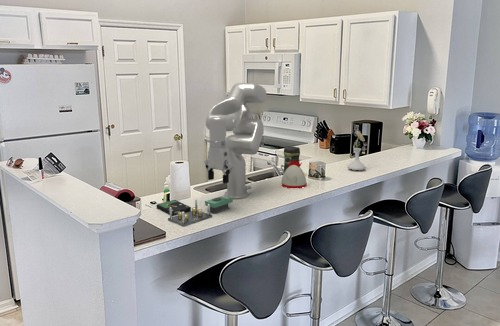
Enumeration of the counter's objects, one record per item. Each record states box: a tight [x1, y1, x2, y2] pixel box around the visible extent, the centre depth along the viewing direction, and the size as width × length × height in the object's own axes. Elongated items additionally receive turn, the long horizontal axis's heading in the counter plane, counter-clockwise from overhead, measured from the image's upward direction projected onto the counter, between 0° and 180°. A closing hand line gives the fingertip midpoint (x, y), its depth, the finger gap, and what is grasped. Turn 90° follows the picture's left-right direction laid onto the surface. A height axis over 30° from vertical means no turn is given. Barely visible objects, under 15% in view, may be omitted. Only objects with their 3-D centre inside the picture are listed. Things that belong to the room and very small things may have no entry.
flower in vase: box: [347, 130, 367, 171], centre depth 281 cm, size 13×11×25 cm
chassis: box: [167, 199, 213, 227], centre depth 191 cm, size 16×11×6 cm
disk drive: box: [156, 199, 192, 217], centre depth 204 cm, size 10×3×15 cm
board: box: [204, 195, 234, 208], centre depth 203 cm, size 12×6×3 cm, turn 138°
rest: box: [210, 203, 230, 214], centre depth 204 cm, size 9×4×3 cm, turn 138°
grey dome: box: [281, 160, 307, 189], centre depth 244 cm, size 14×14×15 cm
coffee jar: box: [282, 145, 301, 176], centre depth 263 cm, size 10×8×19 cm
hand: (218, 181), depth 200 cm, fingers open, 9 cm apart
